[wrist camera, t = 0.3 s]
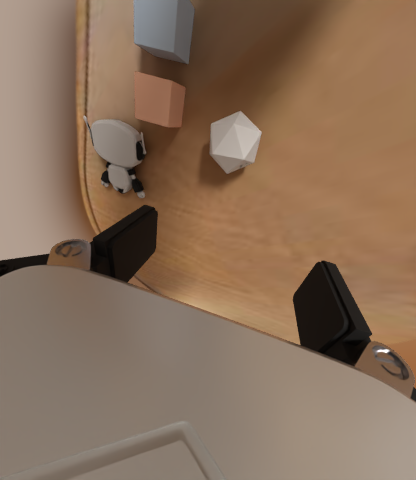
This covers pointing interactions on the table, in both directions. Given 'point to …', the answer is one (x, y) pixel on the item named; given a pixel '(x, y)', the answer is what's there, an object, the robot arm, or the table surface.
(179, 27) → the slate block
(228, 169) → the die
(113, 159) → the robot toy
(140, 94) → the terracotta block
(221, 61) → the table surface
